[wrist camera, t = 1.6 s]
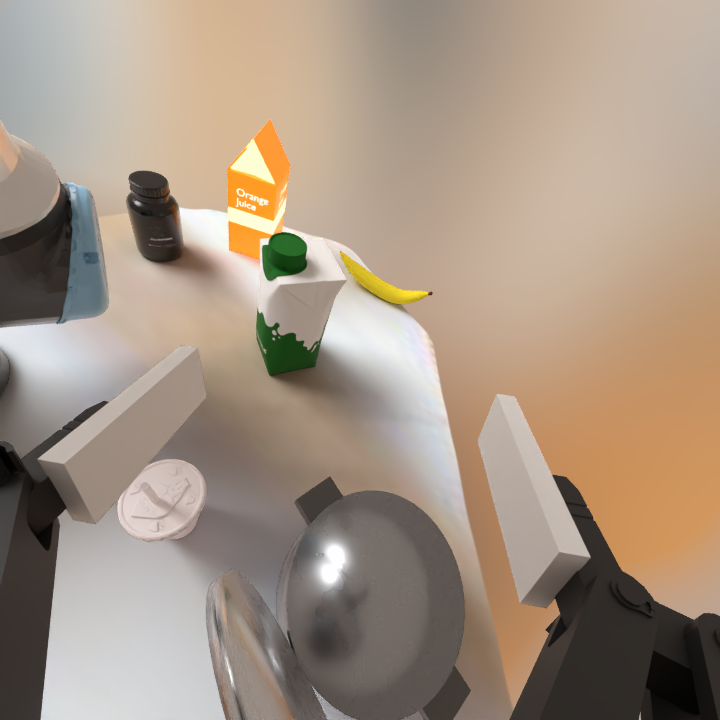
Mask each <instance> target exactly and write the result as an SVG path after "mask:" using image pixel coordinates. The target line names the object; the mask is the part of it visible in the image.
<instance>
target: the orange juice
mask: <svg viewBox="0 0 720 720" xmlns="http://www.w3.org/2000/svg"><path fill="white" fill-rule="evenodd" d="M289 169H290V163H289V161H288V159H287V157H286V154H285V152H284V150H283V148H282V145H281V143H280V141H279V138H278V136H277V134H276V132H275V129H274V127H273V125H272V122H271V120H269V121H268V122H267V124H266V125H265V126H264V127H263V128H262V129H261V130H260V132H259V133H258V134H257V135H256V136H255V138H253V139H252V140H251V142H250V143H249V144H248V145H247V146H246V148H245V149H244V150H243V151H242V152H241V153H240V154H239V156H238V157H237V158H236V160H235V161H234V162H233V163H232V164H231V165H230V167H229V168H228V169H227V173H228V174H227V175H228V221H229V250H231V251H235V252H238V253H241V254H244V255H248V256H251V257H254V258H257V259H260V239H263V238H270V237H271V236H272V235H273V234H275V233H280V232H282V227H283V218H284V211H285V204H286V194H287V185H288V176H289Z"/></svg>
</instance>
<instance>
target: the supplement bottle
mask: <svg viewBox="0 0 720 720" xmlns="http://www.w3.org/2000/svg"><path fill="white" fill-rule="evenodd" d="M129 182H130V190H131V192H130V194H129V195H128V196H127V199H126V204H127V209H128V213H129V217H130V221H131V225H132V229H133V233H134V236H135V240H136V244H137V248H138V250H139V252H140V253H141V254H142V255H143V256H145V257H146V258H148V259H151V260H154V261H161V262H166V261H172V260H175V259H177V258H179V257H180V256H181V255H182V253H183V251H184V244H183V236H182V228H181V220H180V212H179V206H178V203H177V201H176V200H175V198H174V197H173V196H171V195H170V190H169V185H168V181H167V179H166V178H165V177H164V176H162V175H160V174H158V173H155V172H152V171H136V172H134V173H132V174H130V176H129Z"/></svg>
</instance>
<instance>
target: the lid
mask: <svg viewBox="0 0 720 720" xmlns="http://www.w3.org/2000/svg"><path fill="white" fill-rule="evenodd" d="M206 621H207V632H208V639H209V647H210V652H211V658H212V663H213V668H214V673H215V678H216V682H217V686H218V690H219V695H220V699H221V703H222V707H223V710H224V714H225V718H226V720H327V718H326V716H325V713H324V711H323V709H322V707H321V705H320V703H319V701H318V699H317V697H316V695H315V692H314V690H313V688H312V686H311V684H310V682H309V680H308V678H307V676H306V674H305V672H304V670H303V668H302V666H301V664H300V663H299V661H298V659H297V657H296V655H295V653H294V651H293V649H292V647H291V646H290V644H289V642H288V640H287V638H286V637H285V635H284V633H283V631H282V630H281V628H280V626H279V624H278V623H277V621H276V619H275V618H274V616H273V614H272V613H271V611H270V610H269V608H268V606H267V605H266V603H265V602H264V600H263V599H262V597H261V596H260V595H259V593H258V592H257V590H256V589H255V588H254V586H253V585H252V584H251V583H250V581H249V580H248V579H247V578H246V577H245V576H244V575H243V574H242V573H240V572H239V571H238V570H236V569H230V570H229V571H227V572H226V573H225V574H223V575H222V576H221V577H219V578H218V579H217V580H215V581H214V582H213V583H211V585H210V587H209V589H208V593H207V597H206Z"/></svg>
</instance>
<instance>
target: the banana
mask: <svg viewBox="0 0 720 720" xmlns="http://www.w3.org/2000/svg"><path fill="white" fill-rule="evenodd" d="M340 255H341V259H342V261H343V262H344V264H345V266H346V268H347V269H348V271H349V273H350V274H351V275H352V276H353V277H354V279H356V280H357V281H358V282H359V283H360V284H361V285H362V286H364V287H365V288H366V289H367V290H369V291H370V292H372V293H373V294H375V295H376V296H378V297H380V298H381V299H384V300H386V301H388V302H391V303H395V304H408V303H413V302H416V301H419V300H421V299H423V298H425V297H426V296H428V295H432V292H429V293H428V292H425V291H407V290H402V289H399V288H396V287H394V286H392V285H390V284H388V283H387V282H385V281H383V280H381V279H380V278H378V277H377V276H375V275H374V274H372V273H371V272H369V271H368V270H366V269H365V268H363V267H362V266H361V265H359V264H358V263H356V262H355V261H353V260H352V259H351V258H350V257H348V256H347V255H346V254H344V253H342V252H341V251H340Z"/></svg>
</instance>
